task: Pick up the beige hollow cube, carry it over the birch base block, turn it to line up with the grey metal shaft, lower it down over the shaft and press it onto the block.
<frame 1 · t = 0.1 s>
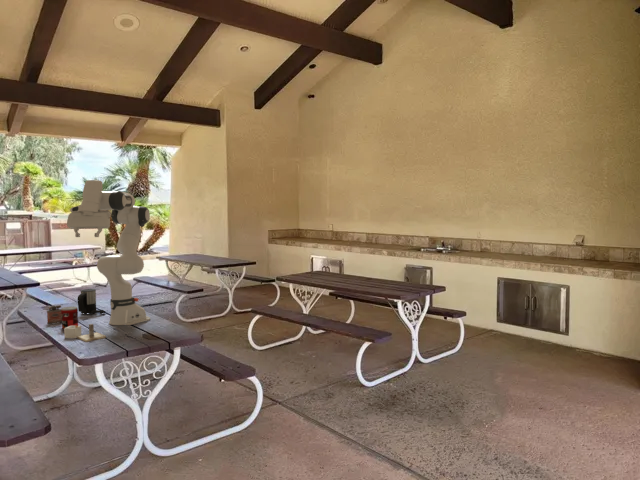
hand: (87, 236, 232), 52 cm above the table, tool tilted 20°, fingers open, 8 cm apart
ornate red tin: (55, 323, 274), on the table
canned food: (70, 327, 263), on the table
beige hollow cube: (73, 336, 244), on the table
milk frother: (93, 313, 297), on the table
shaft block: (91, 337, 241), on the table
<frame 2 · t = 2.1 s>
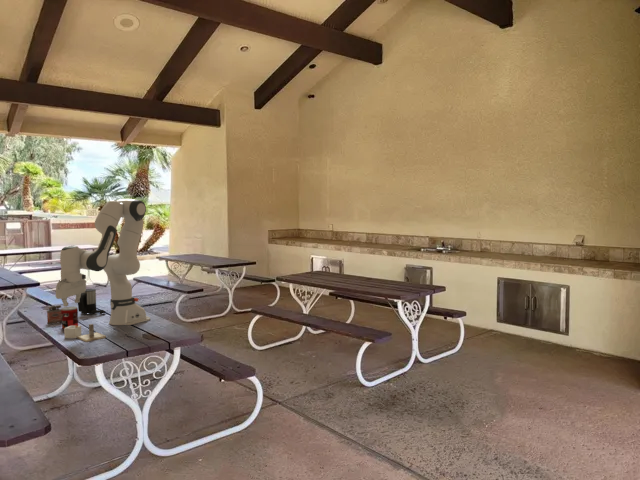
hand: (71, 304, 243), 17 cm above the table, tool pointing down, fingers open, 8 cm apart
nothing on the table moved.
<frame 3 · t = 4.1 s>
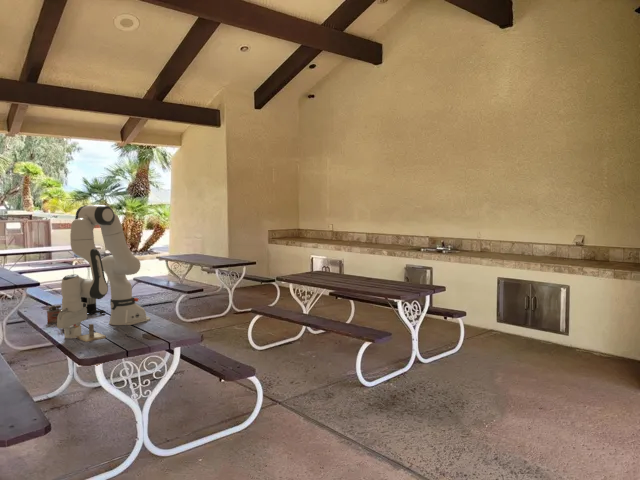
hand: (72, 333, 244), 2 cm above the table, tool pointing down, fingers closed on beige hollow cube, 6 cm apart
beige hollow cube: (73, 336, 244), on the table, touching gripper
everything else where it was.
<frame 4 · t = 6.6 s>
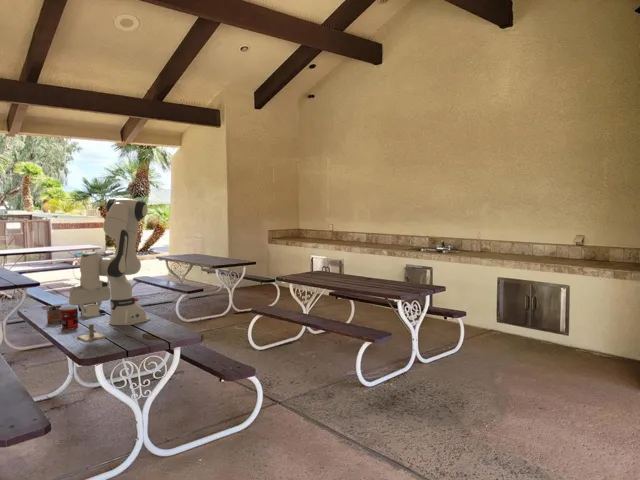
hand: (90, 311, 240), 14 cm above the table, tool pointing down, fingers closed on beige hollow cube, 6 cm apart
beige hollow cube: (90, 315, 240), point 12 cm above the table, touching gripper
everything else where it was.
when the fingers open (4 cm above the table, at t = 9.3 s): beige hollow cube drops 2 cm, resting on shaft block.
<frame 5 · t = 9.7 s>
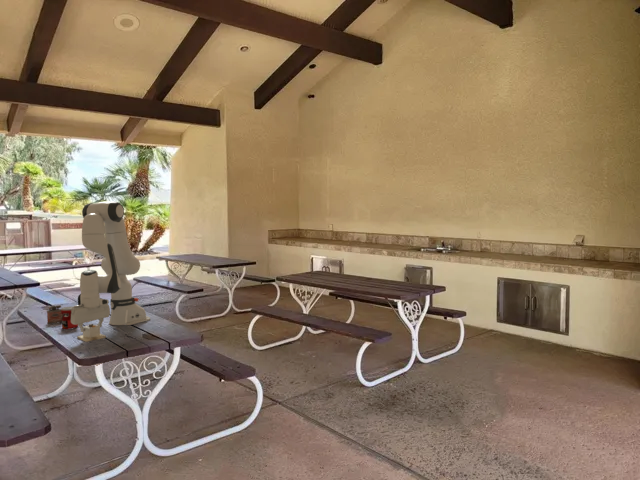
hand: (91, 329, 241), 4 cm above the table, tool pointing down, fingers open, 8 cm apart
beige hollow cube: (91, 335, 241), point 1 cm above the table, touching shaft block
everything else where it was.
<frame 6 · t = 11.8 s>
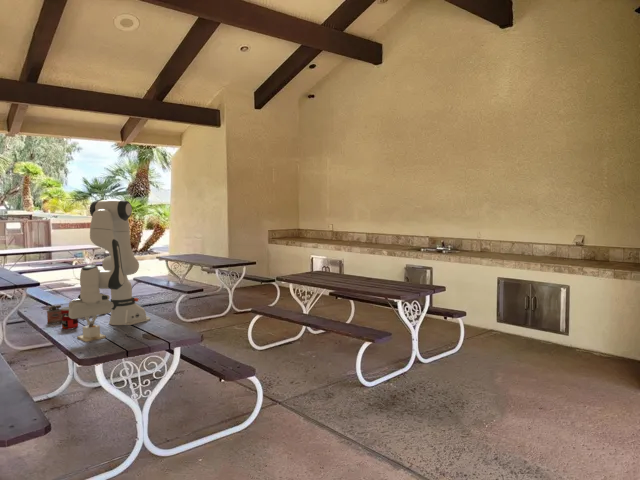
hand: (90, 324, 240), 7 cm above the table, tool pointing down, fingers closed, pressing on shaft block
nothing on the table moved.
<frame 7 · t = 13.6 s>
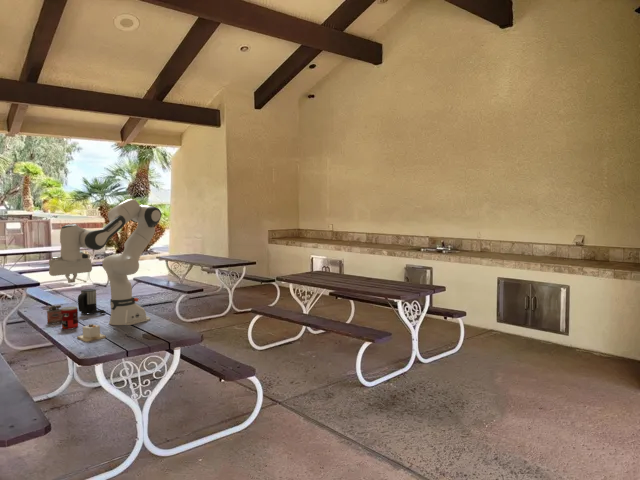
hand: (71, 282, 244), 28 cm above the table, tool pointing down, fingers closed
nothing on the table moved.
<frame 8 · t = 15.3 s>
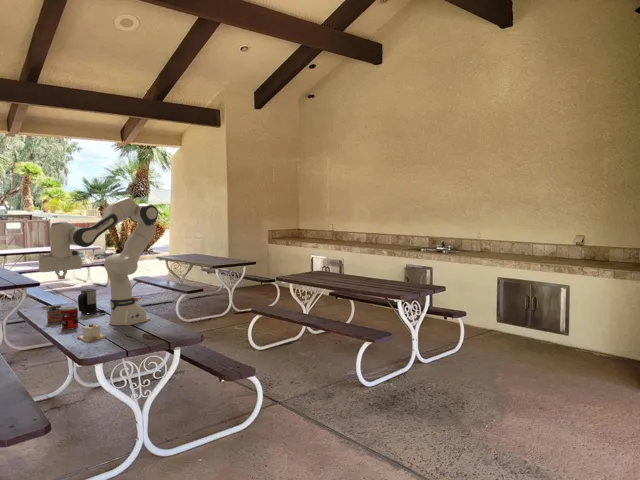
hand: (61, 279, 247), 29 cm above the table, tool pointing down, fingers closed
nothing on the table moved.
at the end: beige hollow cube 0.1 cm off-centre on the shaft block, point 1.0 cm above the shaft block's base; the gripper is holding nothing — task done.
